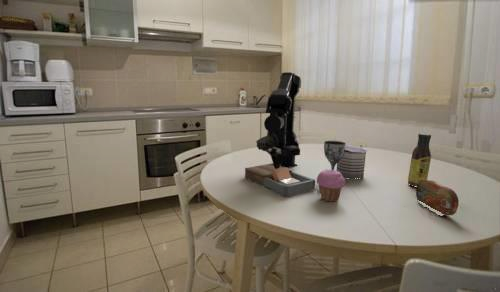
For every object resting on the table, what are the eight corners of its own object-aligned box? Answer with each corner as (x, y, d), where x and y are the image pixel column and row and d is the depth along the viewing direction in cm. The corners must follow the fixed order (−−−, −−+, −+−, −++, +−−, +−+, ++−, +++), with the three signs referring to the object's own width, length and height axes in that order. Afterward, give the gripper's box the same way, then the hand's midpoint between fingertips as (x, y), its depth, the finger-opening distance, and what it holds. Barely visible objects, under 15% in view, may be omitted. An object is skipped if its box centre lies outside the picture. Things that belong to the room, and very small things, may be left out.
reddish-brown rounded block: (413, 200, 97) (417, 176, 95) (422, 200, 97) (426, 176, 96) (447, 221, 83) (452, 193, 81) (457, 221, 83) (463, 193, 81)
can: (340, 169, 131) (342, 143, 128) (367, 174, 124) (370, 146, 122) (331, 176, 121) (333, 147, 119) (359, 181, 115) (362, 151, 112)
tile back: (283, 170, 112) (286, 167, 110) (288, 181, 110) (291, 177, 108) (270, 172, 109) (274, 169, 107) (275, 183, 107) (278, 179, 105)
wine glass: (342, 178, 119) (345, 141, 116) (342, 184, 112) (345, 145, 108) (322, 175, 121) (325, 140, 118) (320, 181, 114) (323, 143, 111)
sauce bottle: (419, 189, 107) (427, 136, 103) (403, 184, 113) (410, 133, 108) (430, 187, 110) (438, 134, 106) (414, 182, 116) (421, 132, 111)
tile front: (300, 181, 105) (299, 187, 105) (292, 177, 108) (291, 184, 109) (287, 184, 102) (286, 190, 102) (279, 180, 105) (278, 186, 106)
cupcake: (348, 203, 94) (351, 173, 92) (324, 206, 91) (326, 175, 89) (333, 193, 102) (335, 165, 100) (310, 195, 100) (312, 167, 97)
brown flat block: (272, 172, 125) (272, 163, 124) (291, 180, 115) (292, 170, 114) (245, 177, 117) (245, 168, 116) (263, 186, 107) (263, 176, 106)
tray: (291, 180, 115) (292, 171, 114) (314, 189, 105) (315, 180, 105) (263, 186, 107) (263, 177, 106) (285, 197, 98) (285, 187, 97)
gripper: (245, 126, 111) (245, 166, 114) (277, 134, 96) (275, 179, 99) (269, 124, 117) (267, 162, 120) (302, 131, 102) (299, 174, 105)
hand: (276, 169), depth 111 cm, fingers closed
